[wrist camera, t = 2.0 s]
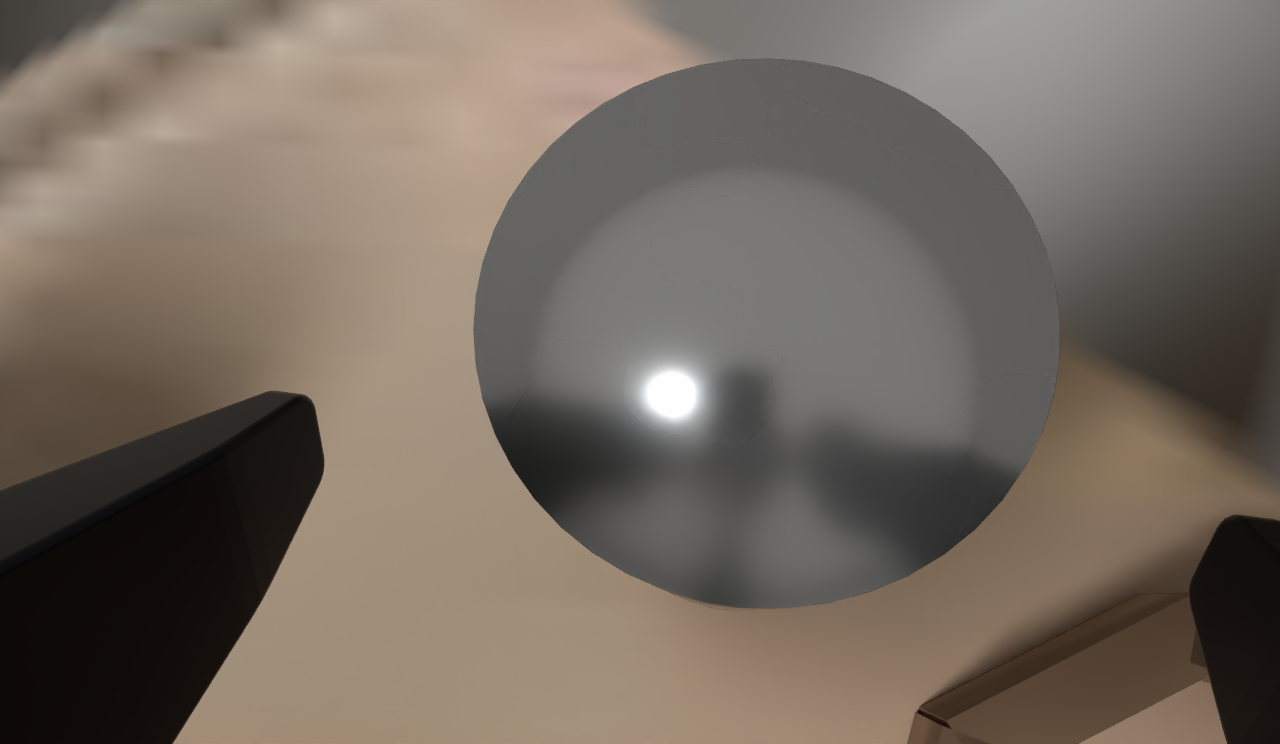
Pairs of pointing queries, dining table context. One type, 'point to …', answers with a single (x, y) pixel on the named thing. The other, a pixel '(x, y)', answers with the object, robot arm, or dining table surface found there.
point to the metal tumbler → (766, 333)
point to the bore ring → (1075, 680)
